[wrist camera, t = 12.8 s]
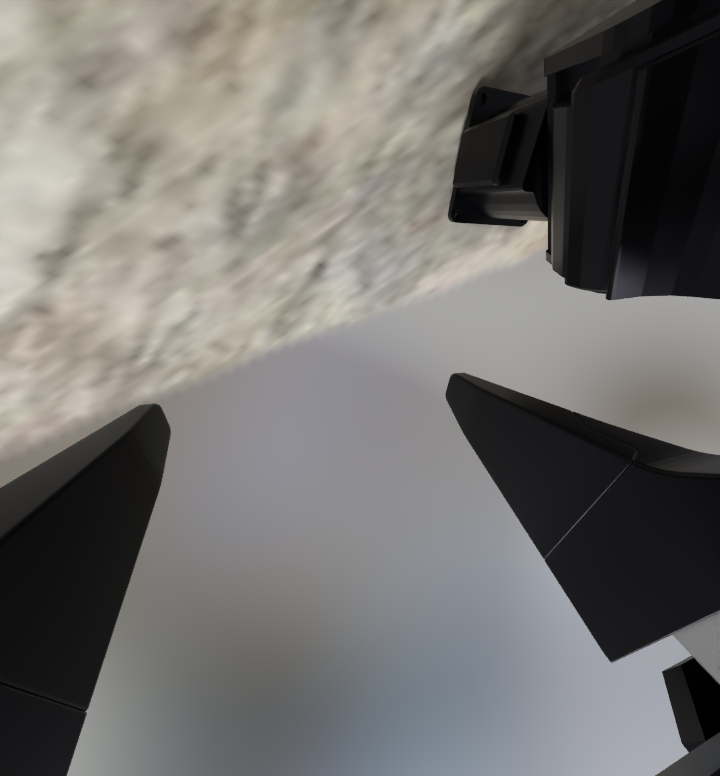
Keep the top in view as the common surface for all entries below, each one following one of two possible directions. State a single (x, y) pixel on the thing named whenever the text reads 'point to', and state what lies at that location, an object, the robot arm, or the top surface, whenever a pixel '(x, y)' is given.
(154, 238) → the top surface
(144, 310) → the top surface
